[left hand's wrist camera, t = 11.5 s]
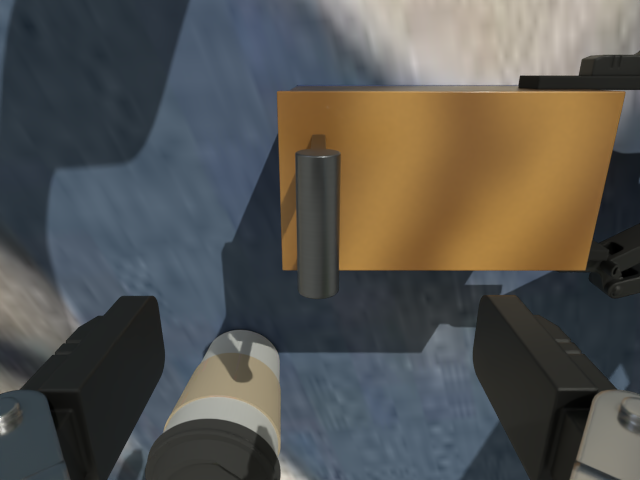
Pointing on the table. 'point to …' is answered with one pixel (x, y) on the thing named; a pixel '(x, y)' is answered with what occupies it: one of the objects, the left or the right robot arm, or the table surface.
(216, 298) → the table surface
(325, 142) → the lid
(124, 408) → the left robot arm
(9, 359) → the table surface
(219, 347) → the coffee cup
